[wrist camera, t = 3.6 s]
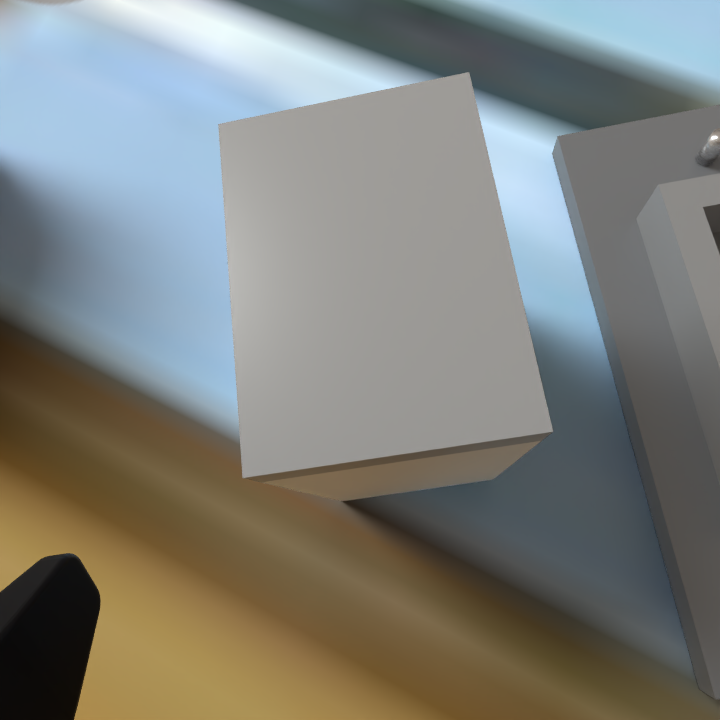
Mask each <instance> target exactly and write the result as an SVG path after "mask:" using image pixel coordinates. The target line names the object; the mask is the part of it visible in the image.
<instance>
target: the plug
mask: <svg viewBox="0 0 720 720" xmlns="http://www.w3.org/2000/svg"><path fill="white" fill-rule="evenodd" d="M218 125H219V140H220V154H221V169H222V183H223V198H224V212H225V227H226V241H227V256H228V271H229V285H230V300H231V314H232V329H233V343H234V358H235V372H236V387H237V401H238V416H239V430H240V445H241V459H242V474H243V478H245V479H249V480H253V481H258V482H262V483H266V484H270V485H274V486H279V487H283V488H287V489H291V490H296V491H300V492H304V493H308V494H313V495H317V496H321V497H325V498H330V499H334V500H338V501H348V500H355V499H362V498H369V497H376V496H383V495H390V494H397V493H404V492H411V491H418V490H425V489H432V488H439V487H446V486H453V485H460V484H467V483H474V482H481V481H488V480H493V479H495V478H496V477H497V476H498V475H500V474H501V473H502V472H503V471H505V470H506V469H507V468H508V467H510V466H511V465H512V464H513V463H515V462H516V461H517V460H518V459H520V458H521V457H522V456H523V455H525V454H526V453H527V452H528V451H530V450H531V449H532V448H533V447H535V446H536V445H537V444H538V443H540V442H541V441H542V440H543V439H545V438H546V437H547V436H548V435H550V434H551V433H552V432H553V429H552V424H551V420H550V416H549V411H548V407H547V403H546V399H545V394H544V390H543V386H542V382H541V377H540V373H539V369H538V365H537V360H536V356H535V352H534V348H533V343H532V339H531V335H530V330H529V326H528V322H527V318H526V313H525V309H524V305H523V301H522V296H521V292H520V288H519V284H518V279H517V275H516V271H515V266H514V262H513V258H512V254H511V249H510V245H509V241H508V237H507V232H506V228H505V224H504V220H503V215H502V211H501V207H500V202H499V198H498V194H497V190H496V185H495V181H494V177H493V173H492V168H491V164H490V160H489V156H488V151H487V147H486V143H485V139H484V134H483V130H482V126H481V121H480V117H479V113H478V109H477V104H476V100H475V96H474V92H473V87H472V83H471V79H470V75H469V72H468V73H463V74H458V75H453V76H448V77H444V78H439V79H434V80H429V81H424V82H420V83H415V84H410V85H405V86H400V87H395V88H391V89H386V90H381V91H376V92H371V93H367V94H362V95H357V96H352V97H347V98H342V99H338V100H333V101H328V102H323V103H318V104H314V105H309V106H304V107H299V108H294V109H289V110H285V111H280V112H275V113H270V114H265V115H260V116H256V117H251V118H246V119H241V120H236V121H232V122H227V123H222V124H218Z"/></svg>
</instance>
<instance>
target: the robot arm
mask: <svg viewBox="0 0 720 720" xmlns="http://www.w3.org/2000/svg"><path fill="white" fill-rule="evenodd" d="M99 611H100V594H99V591H98V589H97V587H96V585H95V584H94V582H93V580H92V579H91V577H90V575H89V574H88V572H87V570H86V569H85V567H84V565H83V564H82V562H81V560H80V559H79V558H78V557H77V556H76V555H74V554H70V553H67V554H60V555H53V556H47V557H44V558H42V559H40V560H39V561H38V562H36V563H35V564H34V565H33V566H32V567H30V568H29V569H28V570H27V571H26V572H24V573H23V574H22V575H21V576H19V577H18V578H17V579H16V580H15V581H13V582H12V583H11V584H10V585H8V586H7V587H6V588H5V589H4V590H2V591H1V592H0V720H74V717H75V713H76V710H77V706H78V702H79V698H80V694H81V689H82V685H83V680H84V676H85V672H86V667H87V663H88V659H89V654H90V650H91V646H92V641H93V637H94V633H95V628H96V624H97V620H98V615H99Z"/></svg>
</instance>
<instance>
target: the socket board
mask: <svg viewBox="0 0 720 720" xmlns="http://www.w3.org/2000/svg"><path fill="white" fill-rule="evenodd" d="M552 155H553V158H554V162H555V166H556V169H557V173H558V176H559V180H560V184H561V187H562V191H563V195H564V198H565V202H566V206H567V209H568V213H569V217H570V220H571V224H572V228H573V231H574V235H575V238H576V242H577V246H578V249H579V253H580V257H581V260H582V264H583V268H584V271H585V275H586V279H587V282H588V286H589V290H590V293H591V297H592V301H593V304H594V308H595V311H596V315H597V319H598V322H599V326H600V330H601V333H602V337H603V341H604V344H605V348H606V352H607V355H608V359H609V363H610V366H611V370H612V373H613V377H614V381H615V384H616V388H617V392H618V395H619V399H620V403H621V406H622V410H623V414H624V417H625V421H626V425H627V428H628V432H629V435H630V439H631V443H632V446H633V450H634V454H635V457H636V461H637V465H638V468H639V472H640V476H641V479H642V483H643V487H644V490H645V494H646V497H647V501H648V505H649V508H650V512H651V516H652V519H653V523H654V527H655V530H656V534H657V538H658V541H659V545H660V549H661V552H662V556H663V559H664V563H665V567H666V570H667V574H668V578H669V581H670V585H671V589H672V592H673V596H674V600H675V603H676V607H677V611H678V614H679V618H680V621H681V625H682V629H683V632H684V636H685V640H686V643H687V647H688V651H689V654H690V658H691V662H692V665H693V669H694V673H695V676H696V680H697V684H698V687H699V689H700V690H701V691H703V692H705V693H706V694H708V695H709V696H711V697H713V698H714V699H720V105H716V106H711V107H706V108H701V109H695V110H690V111H685V112H680V113H675V114H670V115H665V116H659V117H654V118H649V119H644V120H639V121H634V122H629V123H623V124H618V125H613V126H608V127H603V128H598V129H592V130H587V131H582V132H577V133H572V134H567V135H562V136H558V137H557V140H556V143H555V146H554V150H553V153H552Z"/></svg>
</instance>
